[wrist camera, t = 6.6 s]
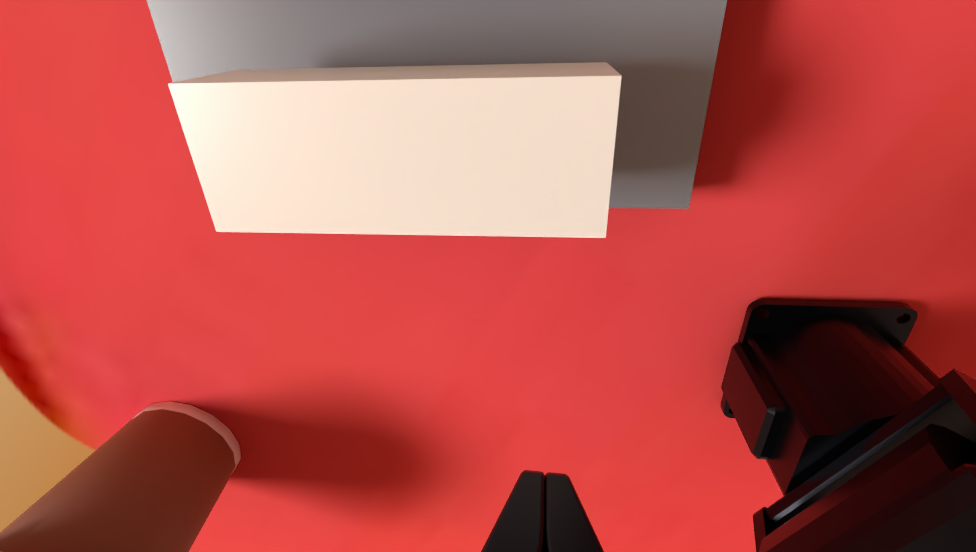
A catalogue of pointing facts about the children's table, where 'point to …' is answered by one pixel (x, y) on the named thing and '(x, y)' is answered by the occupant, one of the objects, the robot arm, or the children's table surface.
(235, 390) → the children's table surface
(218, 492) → the coffee cup
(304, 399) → the children's table surface
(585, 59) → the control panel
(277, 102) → the cream key
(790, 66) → the children's table surface
